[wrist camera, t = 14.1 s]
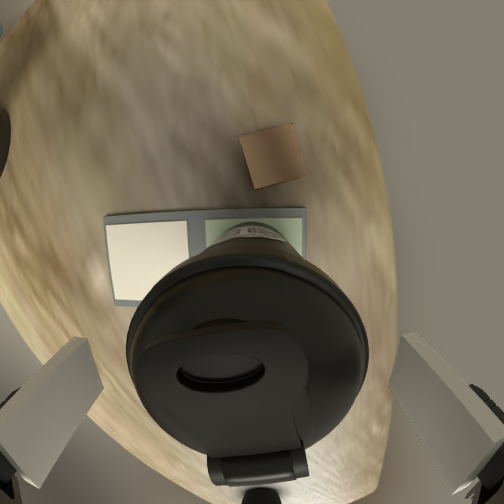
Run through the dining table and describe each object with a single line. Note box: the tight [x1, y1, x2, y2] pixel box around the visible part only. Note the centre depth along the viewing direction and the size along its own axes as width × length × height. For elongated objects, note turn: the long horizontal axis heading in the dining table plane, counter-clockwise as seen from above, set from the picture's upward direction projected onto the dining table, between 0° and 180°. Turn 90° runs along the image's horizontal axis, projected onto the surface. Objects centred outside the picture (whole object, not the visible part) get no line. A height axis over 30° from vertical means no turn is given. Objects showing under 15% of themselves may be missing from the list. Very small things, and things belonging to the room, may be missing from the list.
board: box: [104, 208, 306, 307], centre depth 30 cm, size 23×11×1 cm, turn 91°
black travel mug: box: [126, 222, 369, 487], centre depth 18 cm, size 10×10×23 cm
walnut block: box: [239, 123, 308, 190], centre depth 26 cm, size 5×5×5 cm
